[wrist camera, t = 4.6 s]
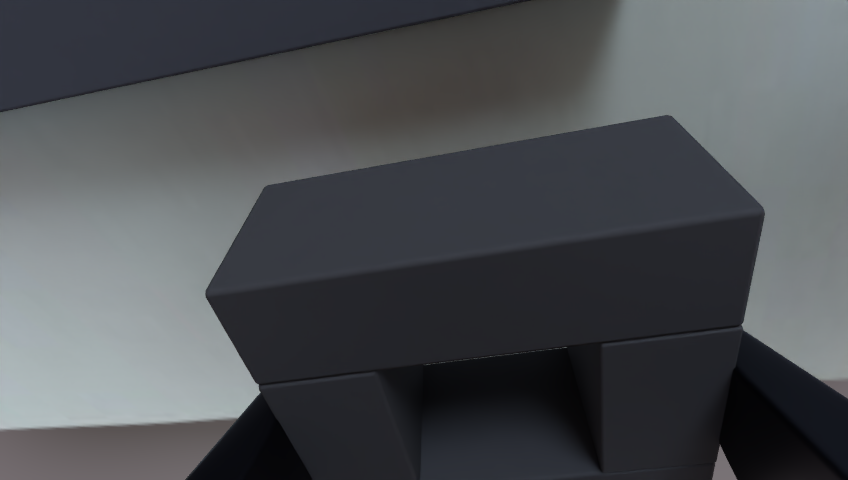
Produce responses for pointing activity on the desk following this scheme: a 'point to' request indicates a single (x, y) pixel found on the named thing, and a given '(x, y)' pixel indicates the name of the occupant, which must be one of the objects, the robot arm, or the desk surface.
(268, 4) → the base pad
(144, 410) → the desk surface
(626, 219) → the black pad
